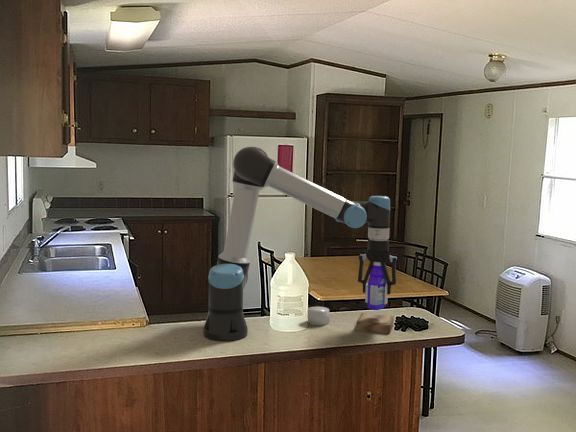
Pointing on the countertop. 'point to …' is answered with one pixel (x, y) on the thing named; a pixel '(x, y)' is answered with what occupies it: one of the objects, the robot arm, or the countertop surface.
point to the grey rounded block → (318, 315)
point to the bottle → (376, 287)
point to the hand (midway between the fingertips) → (376, 302)
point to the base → (375, 323)
